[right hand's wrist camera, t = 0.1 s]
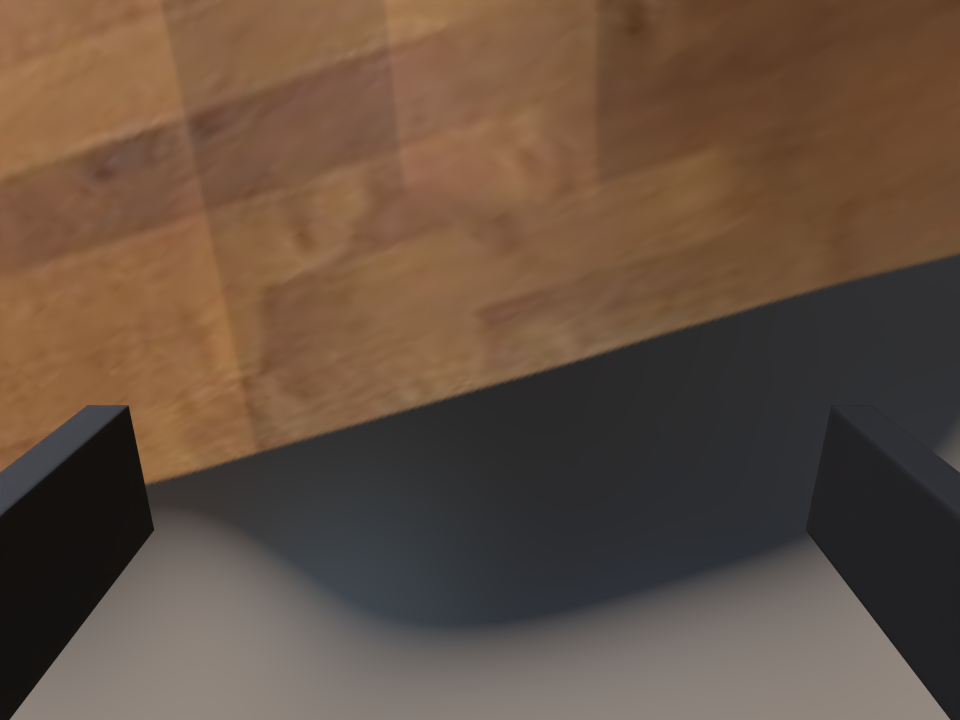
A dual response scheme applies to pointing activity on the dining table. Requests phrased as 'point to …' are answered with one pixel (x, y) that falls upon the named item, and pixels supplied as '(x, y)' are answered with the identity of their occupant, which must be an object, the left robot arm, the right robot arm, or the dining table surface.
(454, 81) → the dining table surface
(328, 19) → the dining table surface
